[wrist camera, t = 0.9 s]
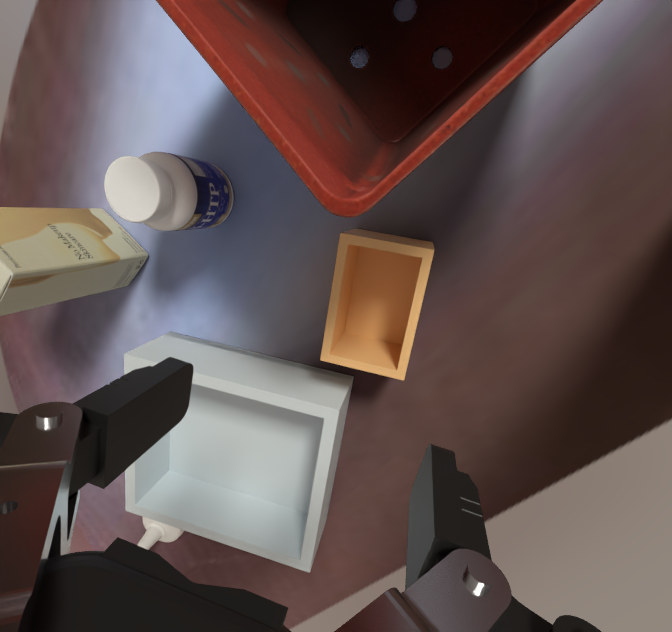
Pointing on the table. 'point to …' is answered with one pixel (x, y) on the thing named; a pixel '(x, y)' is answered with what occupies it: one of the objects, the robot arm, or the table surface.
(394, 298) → the small crate
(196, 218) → the pill bottle
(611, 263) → the table surface
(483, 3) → the plant pot
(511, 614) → the robot arm
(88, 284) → the skincare box
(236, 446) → the big crate
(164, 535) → the chess piece
